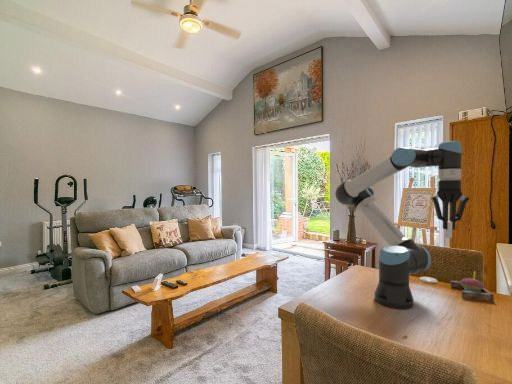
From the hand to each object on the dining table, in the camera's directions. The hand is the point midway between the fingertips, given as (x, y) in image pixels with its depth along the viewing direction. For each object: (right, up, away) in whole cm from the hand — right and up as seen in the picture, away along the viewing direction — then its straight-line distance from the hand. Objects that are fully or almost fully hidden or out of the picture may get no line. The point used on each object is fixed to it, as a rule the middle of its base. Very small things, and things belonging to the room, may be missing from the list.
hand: (448, 237), depth 107 cm
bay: (+21, -29, +15) cm, 39 cm away
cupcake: (+22, -29, +15) cm, 40 cm away
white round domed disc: (+13, -29, +32) cm, 45 cm away
